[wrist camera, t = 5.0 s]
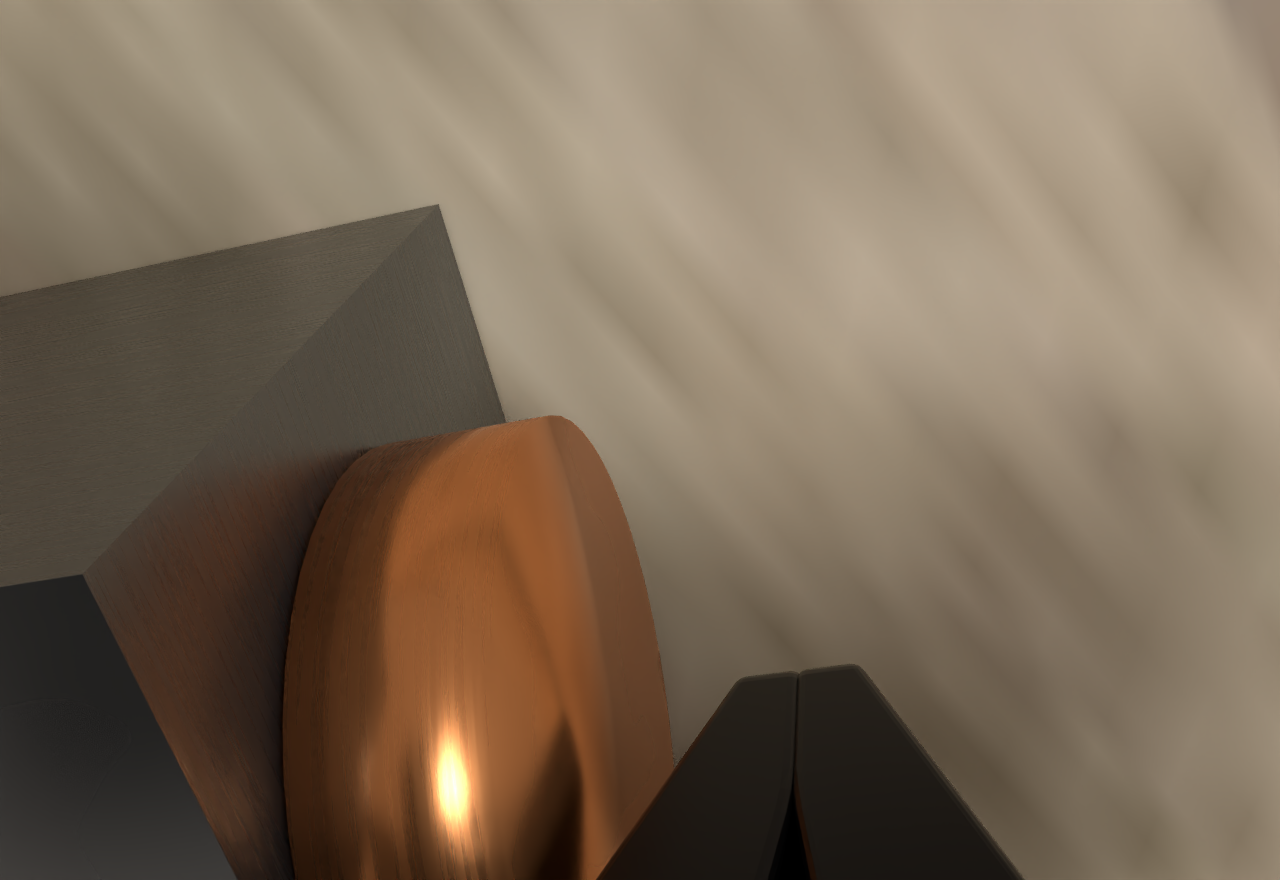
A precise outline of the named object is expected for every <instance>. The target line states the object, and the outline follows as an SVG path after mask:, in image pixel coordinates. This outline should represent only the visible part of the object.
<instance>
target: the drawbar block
mask: <svg viewBox="0 0 1280 880" xmlns="http://www.w3.org/2000/svg"><path fill="white" fill-rule="evenodd" d="M503 423H506V420H505V417H504V414H503V411H502V408H501V404H500V401H499V398H498V395H497V391H496V388H495V385H494V382H493V379H492V375H491V372H490V369H489V366H488V362H487V359H486V356H485V353H484V349H483V346H482V343H481V340H480V337H479V333H478V330H477V327H476V324H475V320H474V317H473V314H472V311H471V308H470V304H469V301H468V298H467V295H466V291H465V288H464V285H463V282H462V278H461V275H460V272H459V269H458V266H457V262H456V259H455V256H454V253H453V249H452V246H451V243H450V240H449V237H448V233H447V230H446V227H445V224H444V220H443V217H442V214H441V211H440V207H439V204H438V205H433V206H428V207H423V208H419V209H414V210H409V211H405V212H400V213H395V214H391V215H386V216H381V217H376V218H372V219H367V220H362V221H358V222H353V223H348V224H343V225H339V226H334V227H329V228H325V229H320V230H315V231H311V232H306V233H301V234H296V235H292V236H287V237H282V238H278V239H273V240H268V241H264V242H259V243H254V244H249V245H245V246H240V247H235V248H231V249H226V250H221V251H216V252H212V253H207V254H202V255H198V256H193V257H188V258H184V259H179V260H174V261H169V262H165V263H160V264H155V265H151V266H146V267H141V268H137V269H132V270H127V271H122V272H118V273H113V274H108V275H104V276H99V277H94V278H89V279H85V280H80V281H75V282H71V283H66V284H61V285H57V286H52V287H47V288H42V289H38V290H33V291H28V292H24V293H19V294H14V295H10V296H5V297H0V880H295V873H294V867H293V860H292V853H291V847H290V840H289V834H288V823H287V811H286V799H285V787H284V771H283V701H284V680H285V665H286V656H287V648H288V639H289V631H290V622H291V616H292V611H293V606H294V601H295V596H296V591H297V586H298V581H299V576H300V572H301V568H302V565H303V562H304V558H305V555H306V551H307V548H308V545H309V541H310V538H311V535H312V533H313V530H314V528H315V525H316V523H317V520H318V518H319V516H320V513H321V511H322V508H323V506H324V504H325V502H326V500H327V499H328V497H329V495H330V494H331V492H332V490H333V489H334V487H335V485H336V483H337V482H338V480H339V479H340V478H341V476H342V475H343V474H344V473H345V472H346V470H347V469H348V468H349V467H350V466H351V465H352V463H353V462H354V461H355V460H357V459H358V458H359V457H361V456H362V455H364V454H365V453H366V452H368V451H369V450H370V449H373V448H376V447H379V446H381V445H384V444H387V443H393V442H399V441H405V440H410V439H416V438H422V437H428V436H434V435H439V434H445V433H451V432H457V431H463V430H469V429H474V428H480V427H486V426H492V425H498V424H503Z"/></svg>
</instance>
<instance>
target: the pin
mask: <svg viewBox="0 0 1280 880" xmlns="http://www.w3.org/2000/svg"><path fill="white" fill-rule="evenodd" d="M673 770H674V764H673V752H672V743H671V733H670V724H669V715H668V708H667V700H666V693H665V685H664V679H663V673H662V666H661V660H660V654H659V648H658V643H657V638H656V632H655V627H654V622H653V617H652V612H651V608H650V603H649V599H648V594H647V589H646V585H645V581H644V578H643V574H642V570H641V566H640V562H639V558H638V555H637V551H636V548H635V544H634V541H633V538H632V534H631V531H630V528H629V525H628V522H627V519H626V516H625V513H624V510H623V507H622V505H621V502H620V500H619V497H618V495H617V492H616V490H615V487H614V485H613V482H612V480H611V478H610V476H609V474H608V472H607V470H606V468H605V466H604V463H603V462H602V460H601V458H600V457H599V455H598V453H597V451H596V450H595V448H594V446H593V445H592V444H591V442H590V441H589V440H588V438H587V437H586V436H585V434H584V433H583V432H582V431H581V430H580V429H579V428H578V427H577V426H576V425H575V424H574V423H573V422H571V421H570V420H568V419H566V418H564V417H562V416H544V417H538V418H532V419H527V420H521V421H515V422H509V423H503V424H498V425H492V426H486V427H480V428H474V429H469V430H463V431H457V432H451V433H445V434H439V435H434V436H428V437H422V438H416V439H410V440H405V441H399V442H393V443H387V444H384V445H381V446H379V447H376V448H373V449H370V450H369V451H368V452H366V453H365V454H364V455H362V456H361V457H359V458H358V459H357V460H355V461H354V462H353V463H352V465H351V466H350V467H349V468H348V469H347V470H346V472H345V473H344V474H343V475H342V476H341V478H340V479H339V480H338V482H337V483H336V485H335V487H334V489H333V490H332V492H331V494H330V495H329V497H328V499H327V500H326V502H325V504H324V506H323V508H322V511H321V513H320V516H319V518H318V520H317V523H316V525H315V528H314V530H313V533H312V535H311V538H310V541H309V545H308V548H307V551H306V555H305V558H304V562H303V565H302V568H301V572H300V576H299V581H298V586H297V591H296V596H295V601H294V606H293V611H292V616H291V622H290V631H289V639H288V648H287V656H286V665H285V680H284V701H283V771H284V787H285V799H286V811H287V823H288V834H289V840H290V847H291V853H292V860H293V867H294V873H295V880H596V879H597V877H598V876H599V875H600V873H601V872H602V870H603V869H604V868H605V866H606V865H607V863H608V862H609V861H610V859H611V858H612V856H613V855H614V853H615V852H616V851H617V849H618V848H619V846H620V845H621V844H622V842H623V841H624V839H625V838H626V837H627V835H628V834H629V832H630V831H631V830H632V828H633V827H634V825H635V824H636V822H637V821H638V820H639V818H640V817H641V815H642V814H643V813H644V811H645V810H646V808H647V807H648V806H649V804H650V803H651V801H652V800H653V799H654V797H655V796H656V794H657V793H658V791H659V790H660V789H661V787H662V786H663V784H664V783H665V782H666V780H667V779H668V777H669V776H670V775H671V773H672V772H673Z"/></svg>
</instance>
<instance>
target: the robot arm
mask: <svg viewBox="0 0 1280 880" xmlns="http://www.w3.org/2000/svg"><path fill="white" fill-rule="evenodd" d="M596 880H1025V879H1024V878H1023V876H1022V875H1021V874H1020V873H1019V871H1018V870H1017V869H1016V867H1015V866H1014V865H1013V863H1012V862H1011V861H1010V860H1009V858H1008V857H1007V856H1006V854H1005V853H1004V852H1003V850H1002V849H1001V848H1000V847H999V845H998V844H997V843H996V841H995V840H994V839H993V837H992V836H991V835H990V834H989V832H988V831H987V830H986V828H985V827H984V826H983V824H982V823H981V822H980V821H979V819H978V818H977V817H976V815H975V814H974V813H973V811H972V810H971V809H970V808H969V806H968V805H967V804H966V802H965V801H964V800H963V798H962V797H961V796H960V795H959V793H958V792H957V791H956V789H955V788H954V787H953V785H952V784H951V783H950V782H949V780H948V779H947V778H946V776H945V775H944V774H943V772H942V771H941V770H940V769H939V767H938V766H937V765H936V763H935V762H934V761H933V759H932V758H931V757H930V756H929V754H928V753H927V752H926V750H925V749H924V748H923V746H922V745H921V744H920V743H919V741H918V740H917V739H916V737H915V736H914V735H913V733H912V732H911V731H910V730H909V728H908V727H907V726H906V724H905V723H904V722H903V720H902V719H901V718H900V717H899V715H898V714H897V713H896V711H895V710H894V709H893V707H892V706H891V705H890V704H889V702H888V701H887V700H886V698H885V697H884V696H883V694H882V693H881V692H880V691H879V689H878V688H877V687H876V685H875V684H874V683H873V681H872V680H871V679H870V678H869V676H868V675H867V674H866V672H865V671H864V670H863V669H862V668H861V667H859V666H858V665H855V664H846V665H838V666H830V667H821V668H813V669H806V670H803V671H802V672H801V673H800V674H798V673H796V672H793V671H789V672H780V673H772V674H764V675H755V676H748V677H744V678H741V679H740V680H739V681H737V682H736V683H735V685H734V686H733V687H732V689H731V690H730V691H729V693H728V694H727V696H726V697H725V699H724V700H723V701H722V703H721V704H720V706H719V707H718V708H717V710H716V711H715V713H714V714H713V715H712V717H711V718H710V720H709V721H708V722H707V724H706V725H705V727H704V728H703V730H702V731H701V732H700V734H699V735H698V737H697V738H696V739H695V741H694V742H693V744H692V745H691V746H690V748H689V749H688V751H687V752H686V753H685V755H684V756H683V758H682V759H681V761H680V762H679V763H678V765H677V766H676V768H675V769H674V770H673V772H672V773H671V775H670V776H669V777H668V779H667V780H666V782H665V783H664V784H663V786H662V787H661V789H660V790H659V791H658V793H657V794H656V796H655V797H654V799H653V800H652V801H651V803H650V804H649V806H648V807H647V808H646V810H645V811H644V813H643V814H642V815H641V817H640V818H639V820H638V821H637V822H636V824H635V825H634V827H633V828H632V830H631V831H630V832H629V834H628V835H627V837H626V838H625V839H624V841H623V842H622V844H621V845H620V846H619V848H618V849H617V851H616V852H615V853H614V855H613V856H612V858H611V859H610V861H609V862H608V863H607V865H606V866H605V868H604V869H603V870H602V872H601V873H600V875H599V876H598V877H597V879H596Z"/></svg>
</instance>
